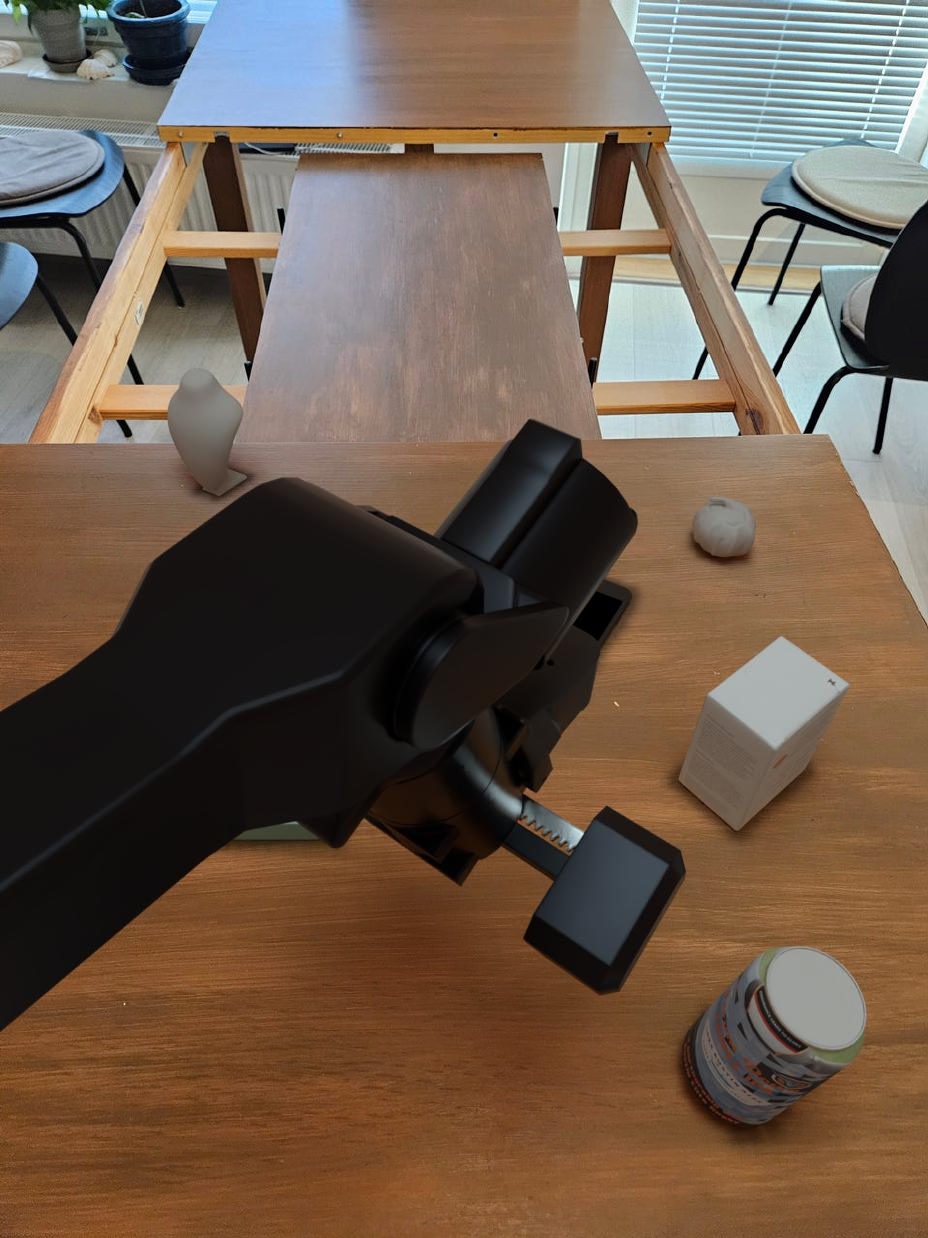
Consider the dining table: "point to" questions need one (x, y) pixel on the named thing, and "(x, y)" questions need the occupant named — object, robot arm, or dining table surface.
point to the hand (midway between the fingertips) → (488, 849)
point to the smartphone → (604, 611)
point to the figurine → (205, 429)
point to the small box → (760, 730)
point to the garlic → (724, 527)
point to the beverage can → (774, 1035)
